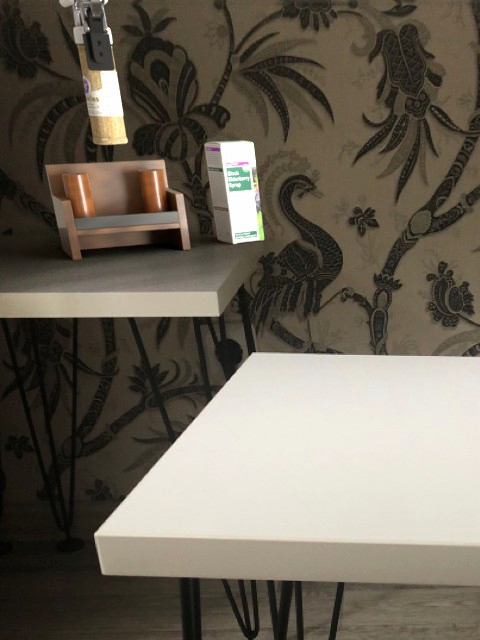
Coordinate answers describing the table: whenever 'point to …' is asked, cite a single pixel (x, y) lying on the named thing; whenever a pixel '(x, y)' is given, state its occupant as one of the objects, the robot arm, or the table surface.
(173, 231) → the spice rack
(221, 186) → the syrup box
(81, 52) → the sprinkles bottle
